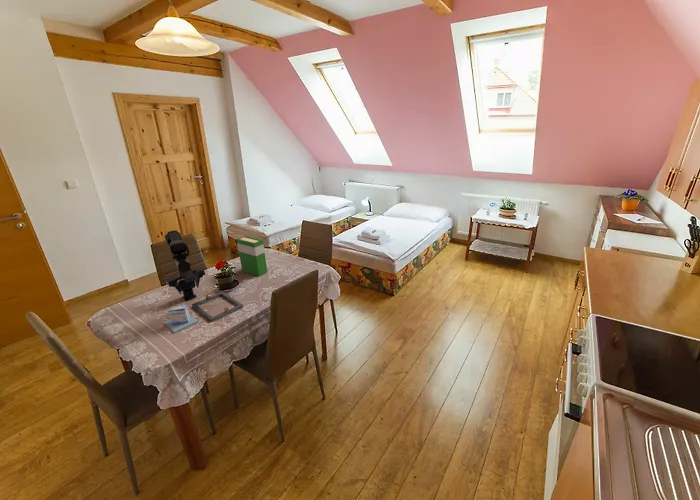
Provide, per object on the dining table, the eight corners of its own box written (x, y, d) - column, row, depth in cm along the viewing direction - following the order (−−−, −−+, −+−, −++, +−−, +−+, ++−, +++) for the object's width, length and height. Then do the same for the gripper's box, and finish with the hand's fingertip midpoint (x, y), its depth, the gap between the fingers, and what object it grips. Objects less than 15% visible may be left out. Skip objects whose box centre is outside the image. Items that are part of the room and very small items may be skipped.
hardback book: (242, 270, 224) (236, 239, 215) (250, 266, 229) (245, 235, 220) (259, 276, 215) (254, 243, 206) (267, 272, 220) (262, 239, 211)
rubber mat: (164, 323, 167) (164, 322, 167) (188, 313, 175) (187, 312, 175) (174, 333, 159) (174, 331, 159) (198, 322, 167) (197, 321, 167)
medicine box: (172, 325, 164) (167, 311, 161) (174, 320, 168) (170, 306, 165) (188, 322, 166) (184, 308, 162) (190, 317, 170) (186, 303, 166)
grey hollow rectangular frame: (192, 306, 182) (190, 301, 181) (222, 293, 194) (221, 288, 193) (211, 322, 167) (210, 316, 165) (243, 307, 179) (242, 301, 178)
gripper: (169, 275, 157) (177, 302, 163) (206, 263, 170) (212, 288, 175) (161, 269, 164) (169, 295, 170) (197, 258, 177) (203, 282, 183)
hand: (189, 290), depth 174 cm, fingers open, 9 cm apart
